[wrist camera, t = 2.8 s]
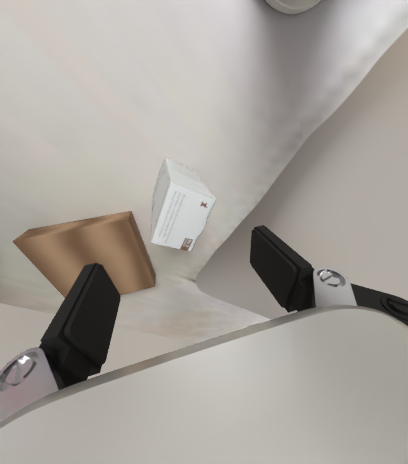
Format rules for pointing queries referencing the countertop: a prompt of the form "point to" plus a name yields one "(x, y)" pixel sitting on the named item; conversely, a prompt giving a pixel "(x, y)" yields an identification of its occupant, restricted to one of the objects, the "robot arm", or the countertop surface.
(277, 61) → the countertop surface
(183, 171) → the skincare box
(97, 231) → the walnut board
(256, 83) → the countertop surface
